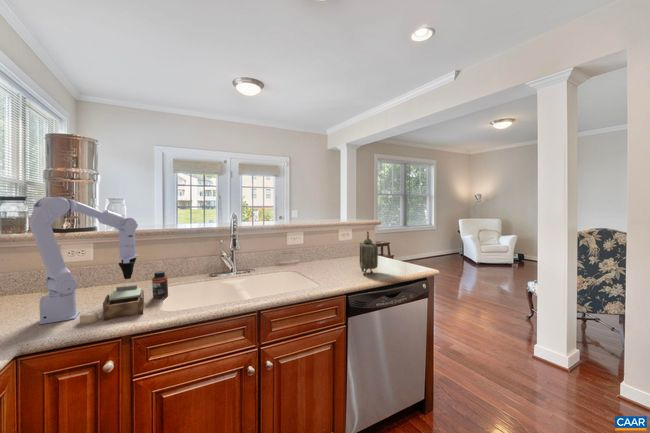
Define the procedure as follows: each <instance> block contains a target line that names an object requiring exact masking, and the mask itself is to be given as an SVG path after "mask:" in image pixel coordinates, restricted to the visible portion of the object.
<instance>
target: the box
mask: <svg viewBox="0 0 650 433" xmlns="http://www.w3.org/2000/svg"><path fill="white" fill-rule="evenodd" d="M144 292H145V290H144V289H141V294H140V297H133V298H126V299H119V300H112V301H109V298H110V294H106V296H105V298H104V300H103V303H102V315H103V317H102V318H103V321H109V320H115V319H120V318H126V317H132V316H139V315H143V314H144V308H145V293H144Z"/></svg>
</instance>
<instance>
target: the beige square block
mask: <svg viewBox="0 0 650 433" xmlns="http://www.w3.org/2000/svg"><path fill="white" fill-rule="evenodd" d="M98 321H99V313H98V312H96V311H92V312H87V313H86V312H85V313H83V314H81V315H79V324H80V325H82V326H83V325H90V324H94V323H96V322H98Z"/></svg>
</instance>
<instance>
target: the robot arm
mask: <svg viewBox="0 0 650 433" xmlns="http://www.w3.org/2000/svg"><path fill="white" fill-rule="evenodd" d="M66 213H79V214H81V215H84V216H87V217H92V218H94V219H97V221H98V222H99V224H102V225H106V226H109V227H111V228H114V229H116V230H118V245H119V248H118V249H119V250H118V251H119V255H118V259H120V261H121V262H118V266H119V268H120V269H121V272H122V274H123V279H124V280H130V279H132V276H133V273H134V268H135V264H136V261H137V257H138V258H139V256H140V254H136V250H137V248H136V230H137V228H138V227H139V226H138V225H139V224H138V223H137V221H136V220H135V219H134V218H133V217H126V215H125V214H119V213H116V212H115V210H113V209H104V210H99V209H97V208H94V207H92V206H89V205H87V204H84V203H82V202H79V201H76V200H74V199H70V198H66V197H63V196H44V197H41V198H40V199H38V200H37V201H36V202H35V203H34V204H33V209H32V213H31V215H30V218H29V220H28V225H29V229H30V231H31V234H32V236H33V238H34V241H35V244H36V246H37V250H38V252H39V255H40V257H41V260H42V262H43V264H44V268H45V270H46V272H45V279H46V281H45V287H46V289H47V290H49V293H48V295H43V296H41V298H40V300H39V304H38V305H39V306H38V307H39V324H40V325H45V324H49V323H51V324H52V323H56V322H61V321H62V322H63V321H68V320H69V321H70V320H75V319H76V318H77V317H78V315H79V313H80V310H77V300H76V299H77V297H76V291H77V289H78V286H79V282H78V280H77V278H75V277H74V276H73V274H72V272H71V271H70V270H69V269H68V267H67V266H66V263H65V261H64V258H63V254H62V252H61V250H60V247H59V244H58V241H57V239H56V236H55V233H54V231H53V228H52V225H53V223H54V222H55V221H56V220H57V219H58V218H60V217H62V216H63V215H65V214H66Z"/></svg>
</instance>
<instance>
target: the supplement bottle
mask: <svg viewBox="0 0 650 433" xmlns="http://www.w3.org/2000/svg"><path fill="white" fill-rule="evenodd" d="M153 275H154V276H153V278H152V279H151V287H152V298H153V299H155V300H160V299H165V298H167V297H168V296H169V285H168V277H167V275H166V273H165V271H163V270H158V271H155V272H154V274H153Z"/></svg>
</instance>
